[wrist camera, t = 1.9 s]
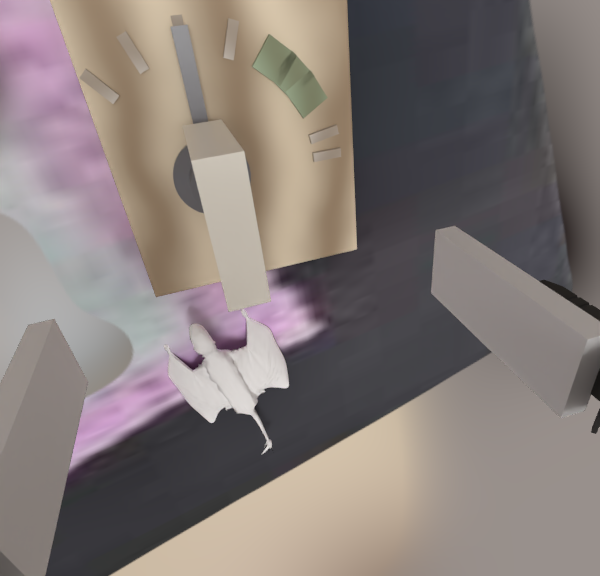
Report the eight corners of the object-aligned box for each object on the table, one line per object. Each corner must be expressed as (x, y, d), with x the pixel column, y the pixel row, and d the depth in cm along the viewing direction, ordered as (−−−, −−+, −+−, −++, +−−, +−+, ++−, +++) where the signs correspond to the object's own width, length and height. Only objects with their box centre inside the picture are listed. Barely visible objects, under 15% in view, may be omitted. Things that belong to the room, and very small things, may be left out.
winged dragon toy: (309, 405, 46) (321, 435, 42) (224, 446, 45) (229, 479, 42) (245, 279, 36) (254, 304, 32) (134, 329, 35) (131, 361, 32)
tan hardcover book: (156, 280, 33) (155, 299, 31) (28, -85, 21) (12, -100, 19) (345, 237, 36) (358, 250, 34) (326, -108, 24) (344, -123, 22)
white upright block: (189, 235, 29) (201, 319, 21) (132, 31, 23) (114, 29, 14) (258, 220, 30) (297, 294, 22) (222, 20, 24) (258, 11, 15)
